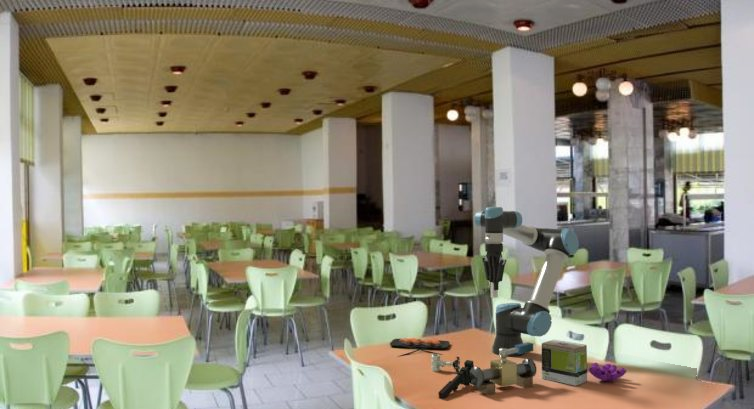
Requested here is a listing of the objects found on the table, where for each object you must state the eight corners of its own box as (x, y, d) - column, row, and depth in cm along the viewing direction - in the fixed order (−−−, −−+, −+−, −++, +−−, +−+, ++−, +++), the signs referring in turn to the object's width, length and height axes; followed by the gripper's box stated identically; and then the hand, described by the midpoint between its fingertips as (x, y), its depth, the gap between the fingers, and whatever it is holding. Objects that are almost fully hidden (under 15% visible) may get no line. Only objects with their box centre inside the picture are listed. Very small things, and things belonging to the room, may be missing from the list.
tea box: (587, 381, 238) (587, 344, 237) (575, 387, 231) (575, 348, 230) (553, 373, 248) (553, 338, 248) (540, 378, 241) (540, 342, 241)
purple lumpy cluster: (614, 384, 243) (629, 368, 240) (605, 394, 231) (621, 377, 228) (591, 365, 248) (606, 348, 245) (582, 373, 236) (597, 356, 233)
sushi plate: (450, 344, 301) (450, 337, 301) (443, 360, 272) (443, 351, 272) (394, 341, 307) (394, 334, 307) (381, 356, 278) (381, 348, 278)
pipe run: (523, 380, 239) (523, 350, 239) (537, 385, 232) (537, 355, 232) (468, 389, 228) (468, 359, 227) (481, 395, 220) (481, 364, 220)
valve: (429, 372, 251) (457, 374, 248) (429, 356, 251) (457, 358, 248) (432, 368, 258) (460, 370, 254) (432, 352, 258) (460, 354, 254)
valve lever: (503, 358, 228) (503, 350, 228) (497, 356, 230) (497, 348, 230) (533, 351, 238) (533, 343, 238) (527, 349, 240) (527, 342, 240)
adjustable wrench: (439, 410, 220) (469, 379, 240) (446, 411, 218) (475, 380, 238) (437, 389, 218) (466, 359, 238) (443, 390, 217) (473, 360, 237)
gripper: (477, 242, 261) (477, 296, 261) (497, 244, 250) (498, 300, 250) (490, 241, 265) (490, 294, 265) (511, 243, 253) (511, 298, 254)
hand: (494, 297), depth 257 cm, fingers closed
